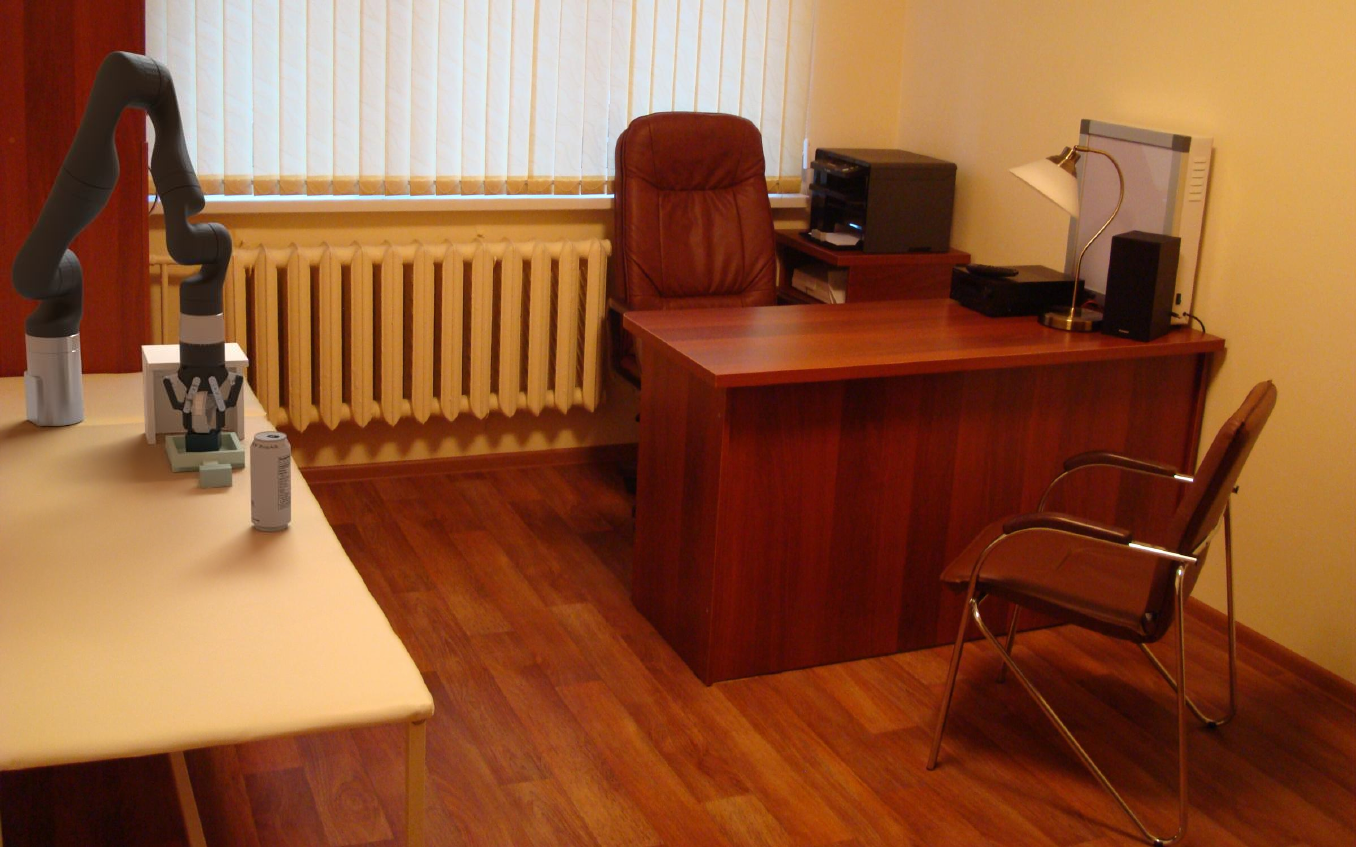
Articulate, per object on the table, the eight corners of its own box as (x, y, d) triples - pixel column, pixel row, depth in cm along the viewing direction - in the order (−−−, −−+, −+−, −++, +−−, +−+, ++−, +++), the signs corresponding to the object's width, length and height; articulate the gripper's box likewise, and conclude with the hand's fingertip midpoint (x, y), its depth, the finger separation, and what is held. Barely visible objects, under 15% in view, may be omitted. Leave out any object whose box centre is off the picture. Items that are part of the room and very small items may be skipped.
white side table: (249, 448, 238) (248, 360, 233) (151, 454, 230) (148, 363, 226) (238, 427, 250) (237, 343, 245) (145, 432, 242) (141, 345, 237)
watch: (223, 441, 233) (220, 383, 230) (217, 455, 226) (214, 395, 222) (190, 441, 232) (188, 383, 229) (183, 455, 224) (180, 395, 221)
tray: (253, 484, 219) (253, 466, 218) (179, 489, 214) (178, 471, 213) (235, 447, 238) (234, 430, 237) (166, 451, 232) (165, 434, 231)
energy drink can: (260, 517, 205) (259, 428, 201) (297, 521, 205) (296, 432, 200) (245, 530, 199) (243, 439, 195) (282, 534, 199) (281, 443, 195)
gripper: (160, 343, 217) (163, 439, 221) (247, 341, 223) (249, 434, 228) (156, 333, 223) (159, 427, 228) (241, 331, 230) (242, 422, 234)
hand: (204, 430), depth 228 cm, fingers closed on watch, 4 cm apart
